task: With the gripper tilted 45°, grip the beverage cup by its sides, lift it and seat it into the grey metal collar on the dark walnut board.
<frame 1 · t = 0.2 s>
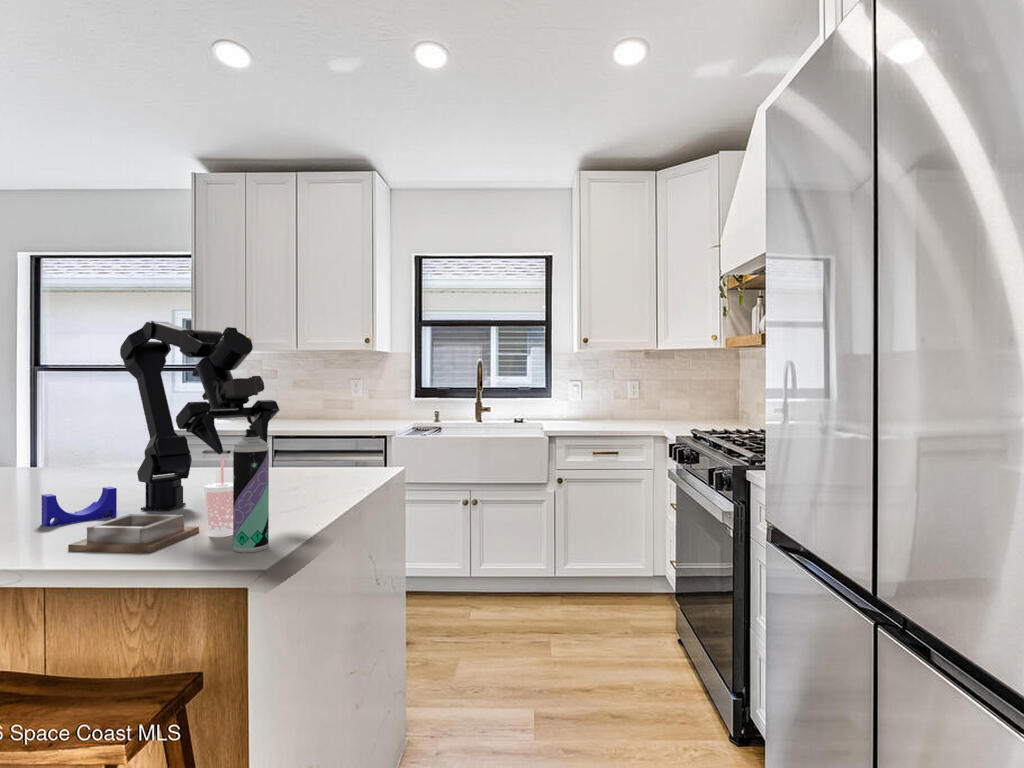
hand: (243, 451, 119), 15 cm above the table, tool tilted 35°, fingers open, 9 cm apart
cup holder board: (137, 540, 108), on the table
blue curved cradle bracket: (78, 521, 125), on the table
beverage cup: (222, 535, 113), on the table
spray can: (250, 549, 104), on the table
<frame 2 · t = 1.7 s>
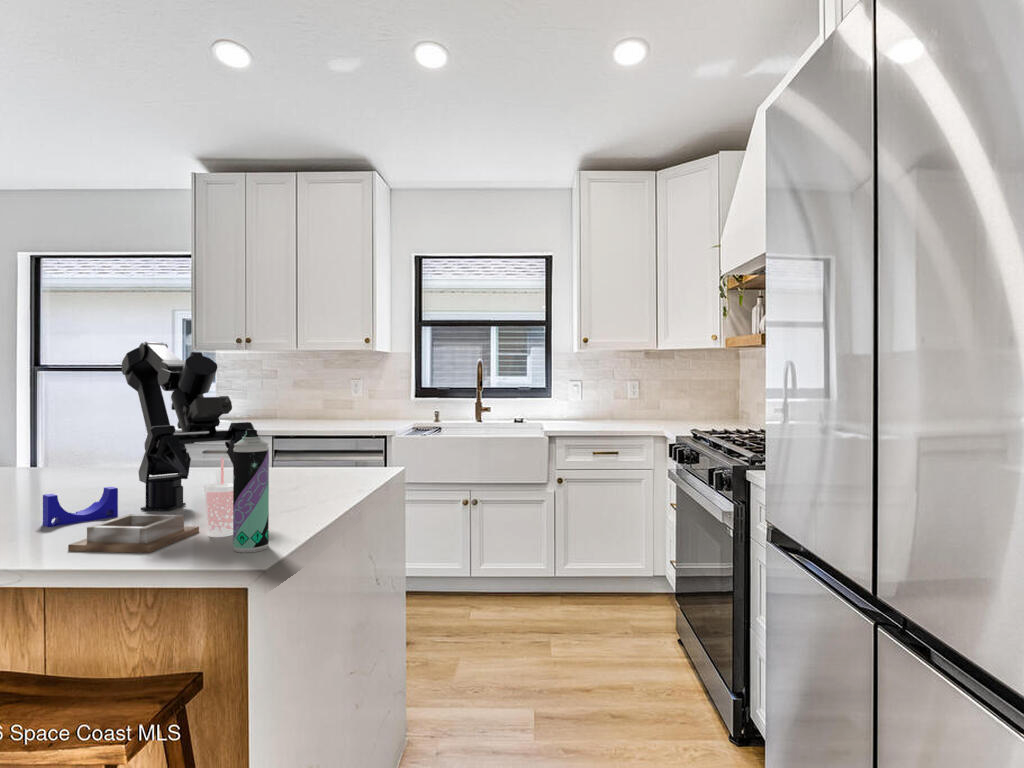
hand: (213, 471, 116), 11 cm above the table, tool tilted 45°, fingers open, 9 cm apart
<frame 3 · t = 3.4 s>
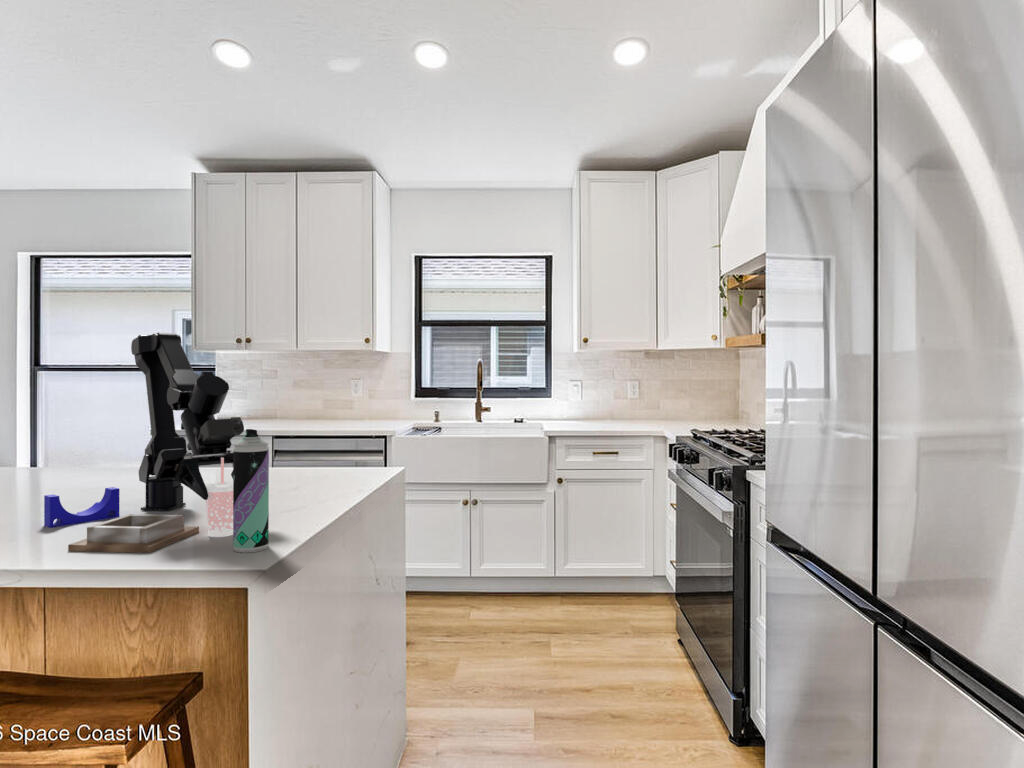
hand: (225, 496, 112), 7 cm above the table, tool tilted 45°, fingers closed on beverage cup, 6 cm apart
beverage cup: (222, 535, 113), on the table, touching gripper
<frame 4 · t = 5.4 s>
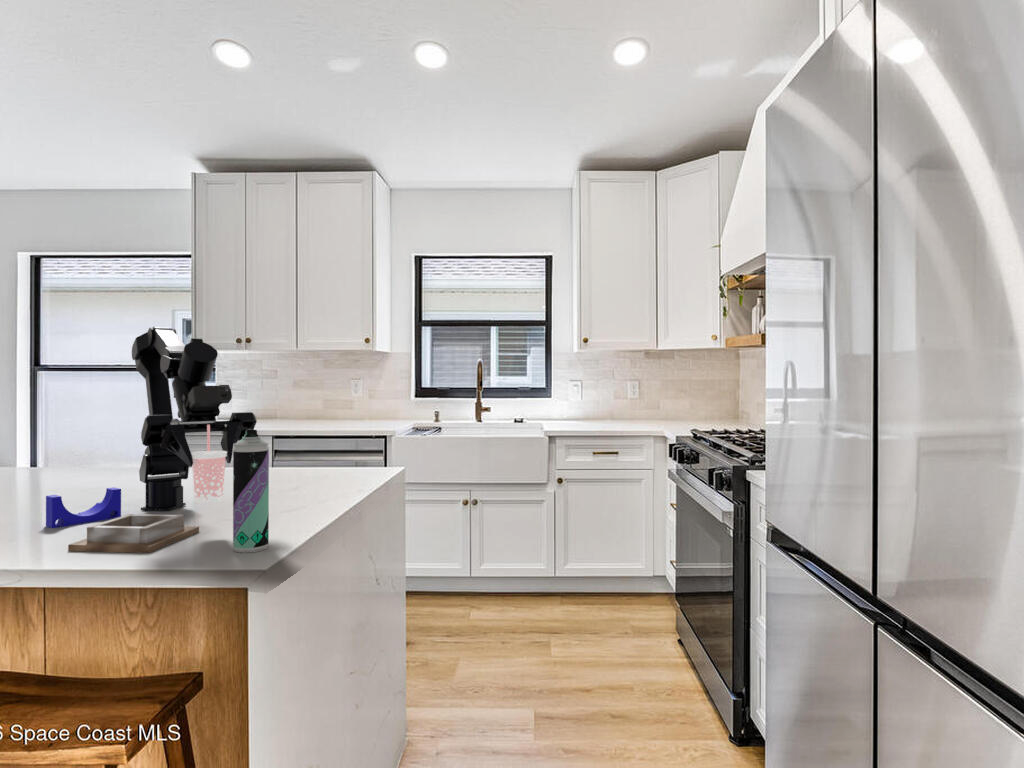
hand: (210, 463, 111), 13 cm above the table, tool tilted 45°, fingers closed on beverage cup, 6 cm apart
beverage cup: (208, 502, 112), point 6 cm above the table, touching gripper
when the fingers open (9 cm above the table, at t = 7.8 s): beverage cup stays where it is, resting on cup holder board.
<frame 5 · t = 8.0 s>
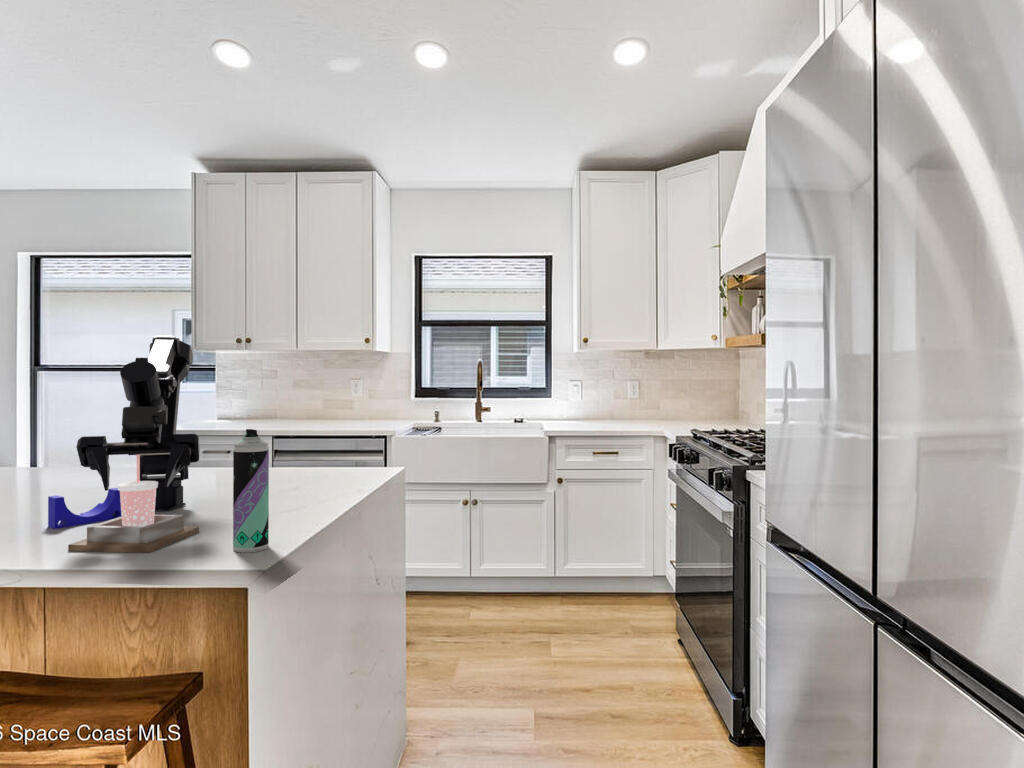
hand: (136, 487, 107), 10 cm above the table, tool tilted 45°, fingers open, 9 cm apart
beverage cup: (138, 535, 108), point 1 cm above the table, touching cup holder board
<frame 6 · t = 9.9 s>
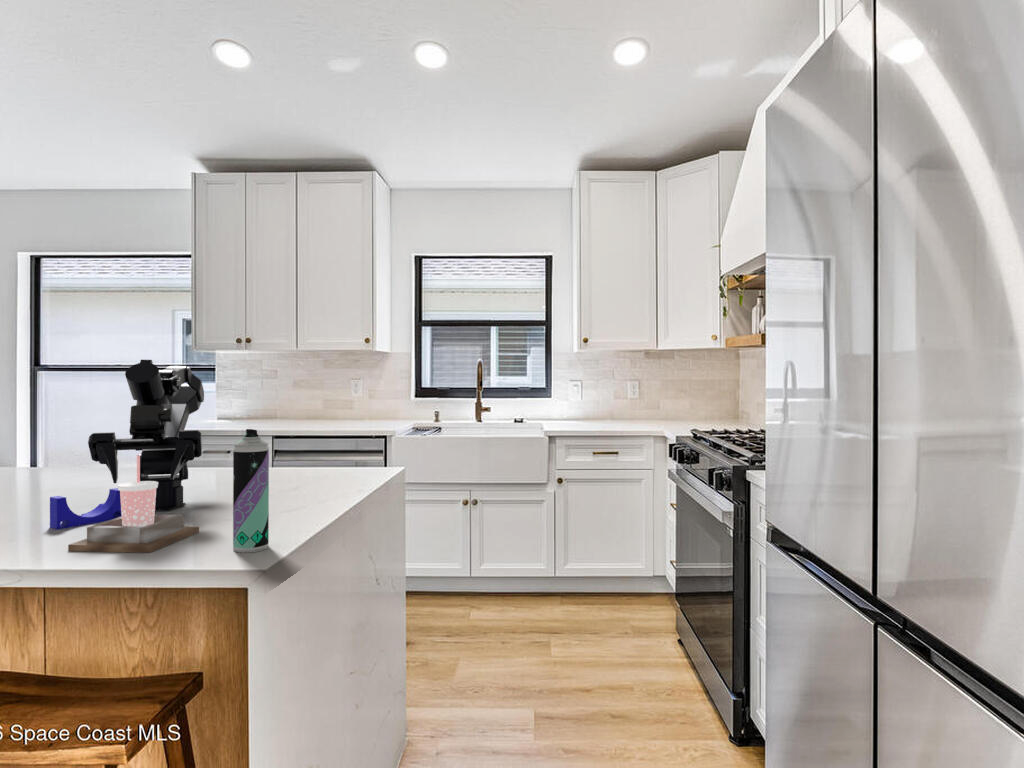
hand: (143, 480, 115), 9 cm above the table, tool tilted 45°, fingers open, 9 cm apart
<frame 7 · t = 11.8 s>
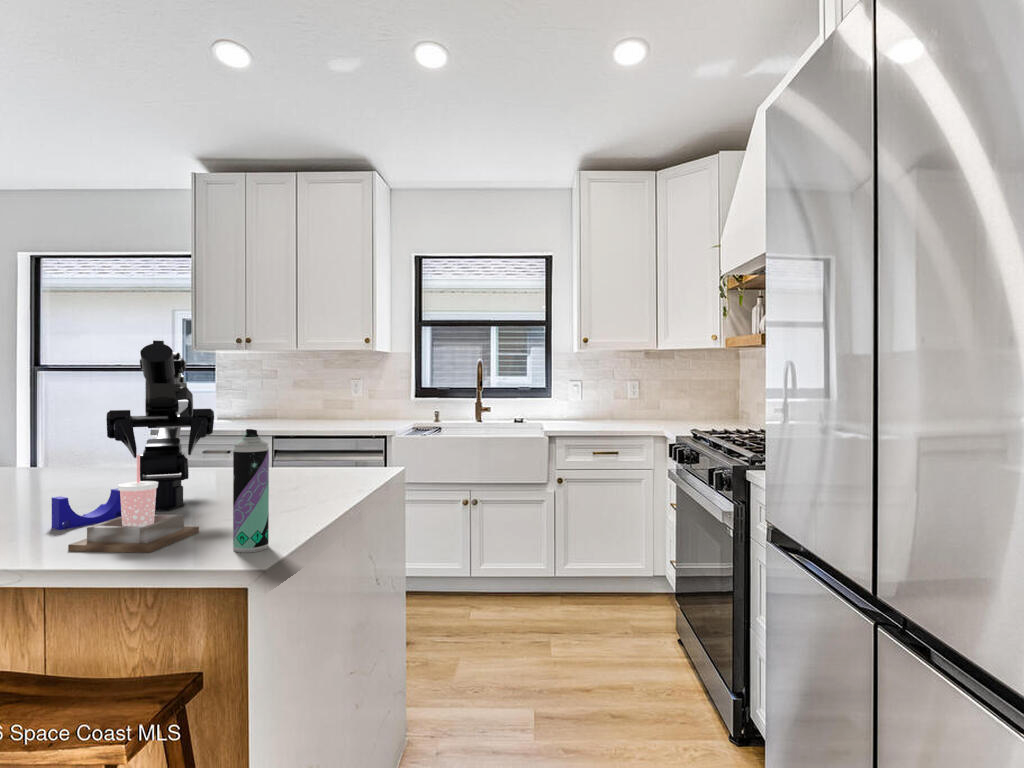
hand: (163, 455, 120), 14 cm above the table, tool tilted 45°, fingers open, 9 cm apart
at the end: beverage cup 0.2 cm off-centre on the cup holder board, point 0.8 cm above the cup holder board's base; beverage cup tilted 0°; the gripper is holding nothing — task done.
